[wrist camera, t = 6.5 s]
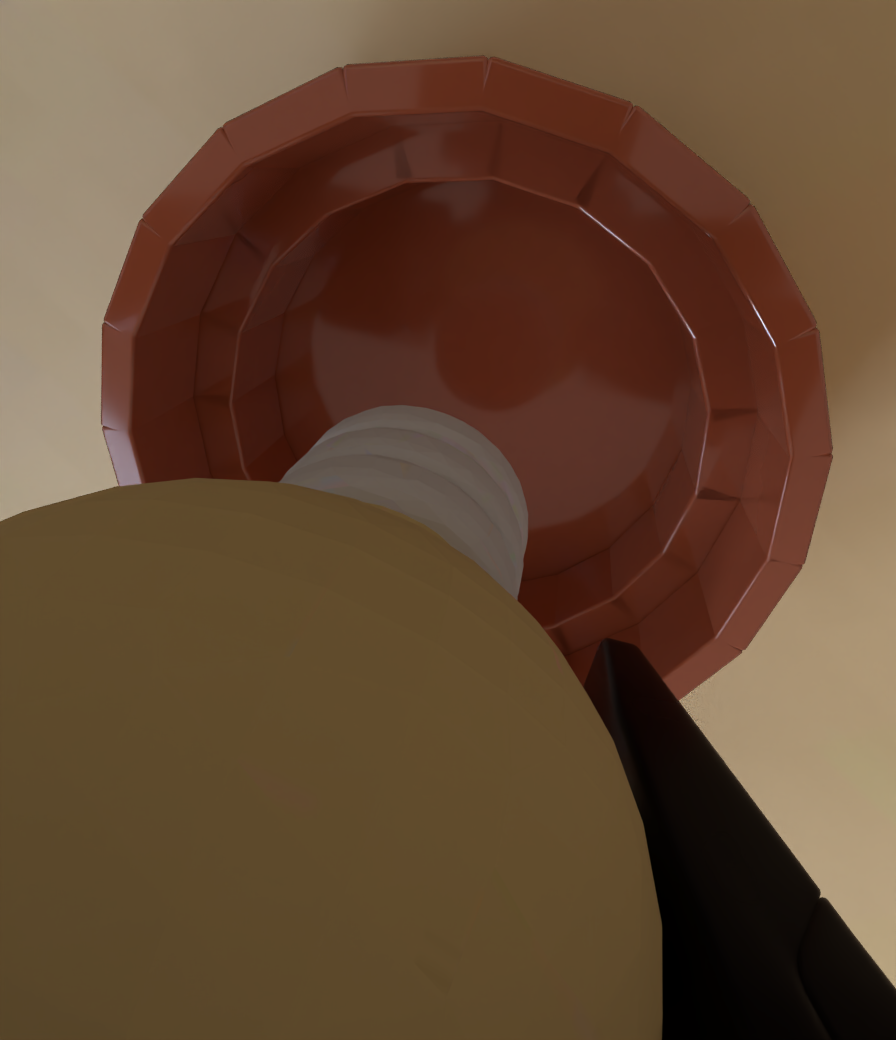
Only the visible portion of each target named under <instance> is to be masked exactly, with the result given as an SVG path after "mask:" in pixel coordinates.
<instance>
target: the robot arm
mask: <svg viewBox="0 0 896 1040" xmlns="http://www.w3.org/2000/svg"><path fill="white" fill-rule="evenodd" d="M583 688H584V690H585V691H586V693H587V695H588V696H589V698H590V700H591V702H592V703H593V705H594V707H595V709H596V710H597V712H598V714H599V716H600V718H601V719H602V721H603V723H604V725H605V727H606V728H607V730H608V732H609V734H610V735H611V737H612V739H613V741H614V744H615V746H616V749H617V752H618V755H619V758H620V760H621V763H622V766H623V769H624V771H625V774H626V777H627V780H628V783H629V785H630V788H631V791H632V794H633V796H634V799H635V802H636V805H637V807H638V810H639V813H640V816H641V819H642V821H643V825H644V830H645V835H646V841H647V846H648V852H649V857H650V863H651V868H652V873H653V879H654V884H655V890H656V895H657V901H658V906H659V911H660V917H661V922H662V1003H663V1019H662V1040H896V988H895V987H894V986H893V985H892V983H891V982H890V981H889V979H888V978H887V977H886V975H885V974H884V973H883V972H882V970H881V969H880V968H879V966H878V965H877V964H876V963H875V961H874V960H873V959H872V957H871V956H870V955H869V954H868V952H867V951H866V950H865V948H864V947H863V946H862V945H861V943H860V942H859V941H858V939H857V938H856V937H855V936H854V934H853V933H852V932H851V930H850V929H849V928H848V926H847V925H846V924H845V922H844V921H843V920H842V918H841V917H840V916H839V914H838V913H837V911H836V910H835V909H834V907H833V906H832V905H831V903H830V902H829V901H828V900H827V899H826V898H823V897H821V898H819V897H820V889H819V888H818V887H817V885H816V884H815V883H814V881H813V880H812V879H811V877H810V876H809V875H808V873H807V872H806V871H805V869H804V868H803V866H802V865H801V864H800V862H799V861H798V860H797V858H796V857H795V856H794V854H793V853H792V852H791V850H790V849H789V848H788V846H787V845H786V844H785V842H784V841H783V840H782V838H781V837H780V836H779V834H778V833H777V832H776V830H775V829H774V828H773V826H772V825H771V824H770V822H769V821H768V820H767V818H766V817H765V816H764V814H763V813H762V812H761V810H760V809H759V808H758V806H757V805H756V804H755V802H754V801H753V800H752V798H751V797H750V796H749V794H748V793H747V792H746V790H745V789H744V788H743V786H742V785H741V784H740V782H739V781H738V780H737V778H736V777H735V776H734V774H733V773H732V772H731V770H730V769H729V768H728V766H727V765H726V764H725V762H724V761H723V760H722V758H721V757H720V755H719V754H718V753H717V751H716V750H715V749H714V747H713V746H712V745H711V743H710V742H709V741H708V739H707V738H706V737H705V735H704V734H703V733H702V731H701V730H700V729H699V727H698V726H697V725H696V723H695V722H694V721H693V719H692V718H691V717H690V715H689V714H688V713H687V711H686V710H685V709H684V707H683V706H682V705H681V703H680V702H679V701H678V699H677V698H676V697H675V695H674V694H673V693H672V691H671V690H670V689H669V687H668V686H667V685H666V683H665V682H664V681H663V679H662V678H661V677H660V675H659V674H658V673H657V671H656V670H655V669H654V667H653V666H652V665H651V663H650V662H649V661H648V659H647V658H646V657H645V655H644V654H643V653H642V651H641V650H640V649H639V648H638V647H637V646H636V645H634V644H631V643H627V642H623V641H619V640H615V639H611V638H605V639H603V640H602V641H601V643H600V644H599V646H598V649H597V651H596V654H595V657H594V659H593V662H592V665H591V667H590V670H589V673H588V675H587V678H586V680H585V683H584V686H583Z"/></svg>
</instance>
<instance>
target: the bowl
mask: <svg viewBox="0 0 896 1040" xmlns="http://www.w3.org/2000/svg"><path fill="white" fill-rule="evenodd" d="M816 326H817V325H816V320H815V318H814V316H813V314H812V312H811V311H810V309H809V307H808V305H807V303H806V301H805V299H804V298H803V296H802V294H801V292H800V290H799V288H798V286H797V285H796V283H795V281H794V279H793V277H792V275H791V273H790V271H789V270H788V268H787V266H786V264H785V262H784V260H783V258H782V257H781V255H780V253H779V251H778V249H777V247H776V245H775V244H774V242H773V240H772V238H771V236H770V234H769V232H768V231H767V229H766V227H765V225H764V223H763V221H762V219H761V217H760V216H759V214H758V212H757V210H756V208H755V206H753V205H752V204H750V200H749V198H748V197H746V196H745V195H744V194H743V193H742V192H740V191H739V190H738V189H737V188H736V187H734V186H733V185H732V184H731V183H730V182H729V181H727V180H726V179H725V178H724V177H723V176H721V175H720V174H719V173H718V172H717V171H715V170H714V169H713V168H712V167H711V166H709V165H708V164H707V163H706V162H705V161H704V160H702V159H701V158H700V157H699V156H698V155H696V154H695V153H694V152H693V151H692V150H690V149H689V148H688V147H687V146H686V145H685V144H683V143H682V142H681V141H680V140H679V139H677V138H676V137H675V136H674V135H673V134H671V133H670V132H669V131H668V130H667V129H666V128H664V127H663V126H662V125H661V124H660V123H658V122H657V121H656V120H655V119H654V118H652V117H651V116H650V115H649V114H648V113H646V112H645V111H644V110H643V109H642V108H641V107H639V106H634V107H633V104H632V103H631V102H630V101H627V100H624V99H621V98H618V97H615V96H612V95H609V94H606V93H603V92H600V91H597V90H594V89H591V88H587V87H584V86H581V85H578V84H575V83H572V82H569V81H566V80H563V79H560V78H557V77H554V76H551V75H548V74H545V73H542V72H539V71H536V70H533V69H530V68H527V67H524V66H521V65H518V64H515V63H512V62H509V61H506V60H503V59H500V58H497V57H490V58H488V57H486V56H484V55H480V56H465V57H450V58H435V59H420V60H405V61H390V62H374V63H359V64H347V65H346V66H344V68H342V67H336V68H334V69H332V70H330V71H328V72H326V73H324V74H322V75H320V76H318V77H316V78H314V79H312V80H310V81H308V82H306V83H304V84H302V85H300V86H298V87H296V88H294V89H292V90H290V91H288V92H286V93H284V94H282V95H280V96H278V97H276V98H274V99H272V100H270V101H268V102H266V103H264V104H262V105H260V106H258V107H256V108H254V109H252V110H250V111H248V112H246V113H244V114H242V115H240V116H238V117H236V118H234V119H232V120H229V121H227V122H226V123H225V124H224V125H223V127H220V128H218V129H217V130H216V131H215V133H214V134H213V135H212V136H211V137H210V138H209V139H208V141H207V142H206V143H205V144H204V145H203V146H202V147H201V149H200V150H199V151H198V152H197V153H196V154H195V155H194V157H193V158H192V159H191V160H190V161H189V162H188V163H187V165H186V166H185V167H184V168H183V169H182V170H181V171H180V173H179V174H178V175H177V176H176V177H175V178H174V179H173V181H172V182H171V183H170V184H169V185H168V186H167V187H166V189H165V190H164V191H163V192H162V193H161V194H160V195H159V197H158V198H157V199H156V200H155V201H154V202H153V203H152V205H151V206H150V207H149V208H148V209H147V210H146V211H145V213H144V214H143V218H142V219H141V220H140V221H139V223H138V226H137V229H136V231H135V234H134V237H133V240H132V242H131V245H130V248H129V251H128V254H127V256H126V259H125V262H124V265H123V267H122V270H121V273H120V276H119V278H118V281H117V284H116V287H115V289H114V292H113V295H112V298H111V301H110V303H109V306H108V309H107V312H106V314H105V317H104V323H103V325H102V387H101V424H102V425H103V427H102V430H103V434H104V437H105V440H106V444H107V447H108V451H109V454H110V457H111V461H112V464H113V468H114V471H115V475H116V478H117V481H118V485H119V486H126V485H135V484H144V483H154V482H163V481H172V480H181V479H190V478H207V479H228V480H248V481H268V482H279V481H281V480H282V478H283V477H284V475H285V474H286V472H287V471H288V470H289V469H290V468H291V467H293V466H294V465H295V464H296V463H297V462H298V461H299V460H300V459H301V458H302V457H303V456H304V455H306V454H307V453H308V451H309V450H310V449H311V448H312V447H313V446H314V445H315V444H316V443H317V441H318V440H319V439H320V438H321V437H322V436H323V435H324V434H325V433H326V432H327V431H328V430H329V429H331V428H332V427H334V426H335V425H337V424H338V423H340V422H341V421H342V420H344V419H346V418H348V417H351V416H353V415H356V414H358V413H361V412H363V411H366V410H369V409H373V408H377V407H380V406H394V405H406V406H415V407H423V408H429V409H432V410H435V411H439V412H442V413H445V414H448V415H450V416H452V417H455V418H457V419H459V420H461V421H463V422H465V423H466V424H468V425H470V426H471V427H473V428H475V429H476V430H478V431H479V432H480V433H481V434H483V435H484V436H485V437H486V438H487V439H488V440H489V441H490V442H491V443H492V444H494V445H495V446H496V447H497V448H498V449H499V450H500V451H501V453H502V454H503V455H504V457H505V458H506V459H507V461H508V462H509V463H510V465H511V466H512V468H513V470H514V472H515V474H516V476H517V478H518V479H519V481H520V484H521V487H522V490H523V494H524V497H525V501H526V506H527V511H528V539H527V545H526V550H525V554H524V558H523V572H522V577H521V583H520V588H519V594H518V596H517V598H518V600H517V601H518V602H519V603H521V605H522V606H523V607H524V608H525V609H526V610H527V611H528V612H529V613H530V614H531V615H532V616H533V617H534V618H535V619H536V620H537V622H538V623H539V624H540V625H541V627H542V628H543V629H544V630H545V632H546V633H547V634H548V636H549V637H550V638H551V639H552V641H553V642H554V643H555V645H556V646H557V647H558V648H559V650H560V651H561V653H562V654H563V656H564V658H565V659H566V661H567V662H568V664H569V666H570V667H571V669H572V670H573V672H574V674H575V675H576V677H577V678H578V680H579V682H580V683H581V685H582V686H584V683H585V680H586V678H587V675H588V673H589V670H590V667H591V665H592V662H593V659H594V657H595V654H596V651H597V649H598V646H599V644H600V643H601V641H602V640H603V639H605V638H611V639H615V640H619V641H623V642H627V643H631V644H634V645H636V646H637V647H638V648H639V649H640V650H641V651H642V653H643V654H644V655H645V657H646V658H647V659H648V661H649V662H650V663H651V665H652V666H653V667H654V669H655V670H656V671H657V673H658V674H659V675H660V677H661V678H662V679H663V681H664V682H665V683H666V685H667V686H668V687H669V689H670V690H671V691H672V693H673V694H674V695H675V697H676V698H677V699H678V701H679V700H680V699H682V698H683V697H684V696H686V695H687V694H688V693H690V692H691V691H692V690H694V689H695V688H696V687H698V686H699V685H700V684H701V683H703V682H704V681H705V680H707V679H708V678H709V677H711V676H712V675H713V674H715V673H716V672H717V671H719V670H720V669H721V668H723V667H724V666H725V665H727V664H728V663H729V662H731V661H732V660H733V659H735V658H736V657H737V656H739V655H740V654H741V653H742V650H745V649H746V648H747V647H748V645H749V644H750V642H751V641H752V639H753V638H754V637H755V635H756V634H757V632H758V631H759V629H760V628H761V626H762V625H763V624H764V622H765V621H766V619H767V618H768V616H769V615H770V614H771V612H772V611H773V609H774V608H775V606H776V605H777V603H778V602H779V601H780V599H781V598H782V596H783V595H784V593H785V592H786V591H787V589H788V588H789V586H790V585H791V583H792V582H793V580H794V579H795V578H796V576H797V575H798V573H799V572H800V570H801V569H802V565H803V564H804V563H805V561H806V557H807V553H808V549H809V545H810V542H811V538H812V534H813V530H814V527H815V523H816V519H817V515H818V511H819V508H820V504H821V500H822V496H823V492H824V489H825V485H826V481H827V477H828V474H829V470H830V466H831V462H832V458H833V455H832V454H831V453H832V450H833V446H832V437H831V428H830V419H829V411H828V402H827V393H826V384H825V376H824V367H823V358H822V349H821V340H820V332H819V330H818V329H817V328H816Z"/></svg>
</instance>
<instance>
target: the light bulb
mask: <svg viewBox="0 0 896 1040" xmlns="http://www.w3.org/2000/svg"><path fill="white" fill-rule="evenodd" d="M527 539H528V511H527V506H526V501H525V497H524V494H523V490H522V487H521V484H520V481H519V479H518V478H517V476H516V474H515V472H514V470H513V468H512V466H511V465H510V463H509V462H508V461H507V459H506V458H505V457H504V455H503V454H502V453H501V451H500V450H499V449H498V448H497V447H496V446H495V445H494V444H492V443H491V442H490V441H489V440H488V439H487V438H486V437H485V436H484V435H483V434H481V433H480V432H479V431H478V430H476V429H475V428H473V427H471V426H470V425H468V424H466V423H465V422H463V421H461V420H459V419H457V418H455V417H452V416H450V415H448V414H445V413H442V412H439V411H435V410H432V409H429V408H423V407H415V406H406V405H394V406H380V407H377V408H373V409H369V410H366V411H363V412H361V413H358V414H356V415H353V416H351V417H348V418H346V419H344V420H342V421H341V422H340V423H338V424H337V425H335V426H334V427H332V428H331V429H329V430H328V431H327V432H326V433H325V434H324V435H323V436H322V437H321V438H320V439H319V440H318V441H317V443H316V444H315V445H314V446H313V447H312V448H311V449H310V450H309V451H308V453H307V454H306V455H304V456H303V457H302V458H301V459H300V460H299V461H298V462H297V463H296V464H295V465H294V466H293V467H291V468H290V469H289V470H288V471H287V472H286V474H285V475H284V477H283V478H282V480H281V481H279V482H268V481H248V480H228V479H207V478H190V479H181V480H172V481H163V482H154V483H144V484H135V485H126V486H117V487H113V488H109V489H106V490H102V491H98V492H95V493H91V494H87V495H84V496H80V497H76V498H73V499H69V500H65V501H61V502H58V503H54V504H50V505H47V506H43V507H39V508H36V509H32V510H28V511H25V512H22V513H20V514H17V515H15V516H12V517H10V518H8V519H5V520H3V521H1V522H0V1040H662V1019H663V1003H662V922H661V917H660V911H659V906H658V901H657V895H656V890H655V884H654V879H653V873H652V868H651V863H650V857H649V852H648V846H647V841H646V835H645V830H644V825H643V821H642V819H641V816H640V813H639V810H638V807H637V805H636V802H635V799H634V796H633V794H632V791H631V788H630V785H629V783H628V780H627V777H626V774H625V771H624V769H623V766H622V763H621V760H620V758H619V755H618V752H617V749H616V746H615V744H614V741H613V739H612V737H611V735H610V734H609V732H608V730H607V728H606V727H605V725H604V723H603V721H602V719H601V718H600V716H599V714H598V712H597V710H596V709H595V707H594V705H593V703H592V702H591V700H590V698H589V696H588V695H587V693H586V691H585V690H584V688H583V686H582V685H581V683H580V682H579V680H578V678H577V677H576V675H575V674H574V672H573V670H572V669H571V667H570V666H569V664H568V662H567V661H566V659H565V658H564V656H563V654H562V653H561V651H560V650H559V648H558V647H557V646H556V645H555V643H554V642H553V641H552V639H551V638H550V637H549V636H548V634H547V633H546V632H545V630H544V629H543V628H542V627H541V625H540V624H539V623H538V622H537V620H536V619H535V618H534V617H533V616H532V615H531V614H530V613H529V612H528V611H527V610H526V609H525V608H524V607H523V606H522V605H521V603H519V602H518V601H517V600H518V598H517V596H518V594H519V588H520V583H521V577H522V572H523V558H524V554H525V550H526V545H527Z"/></svg>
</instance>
